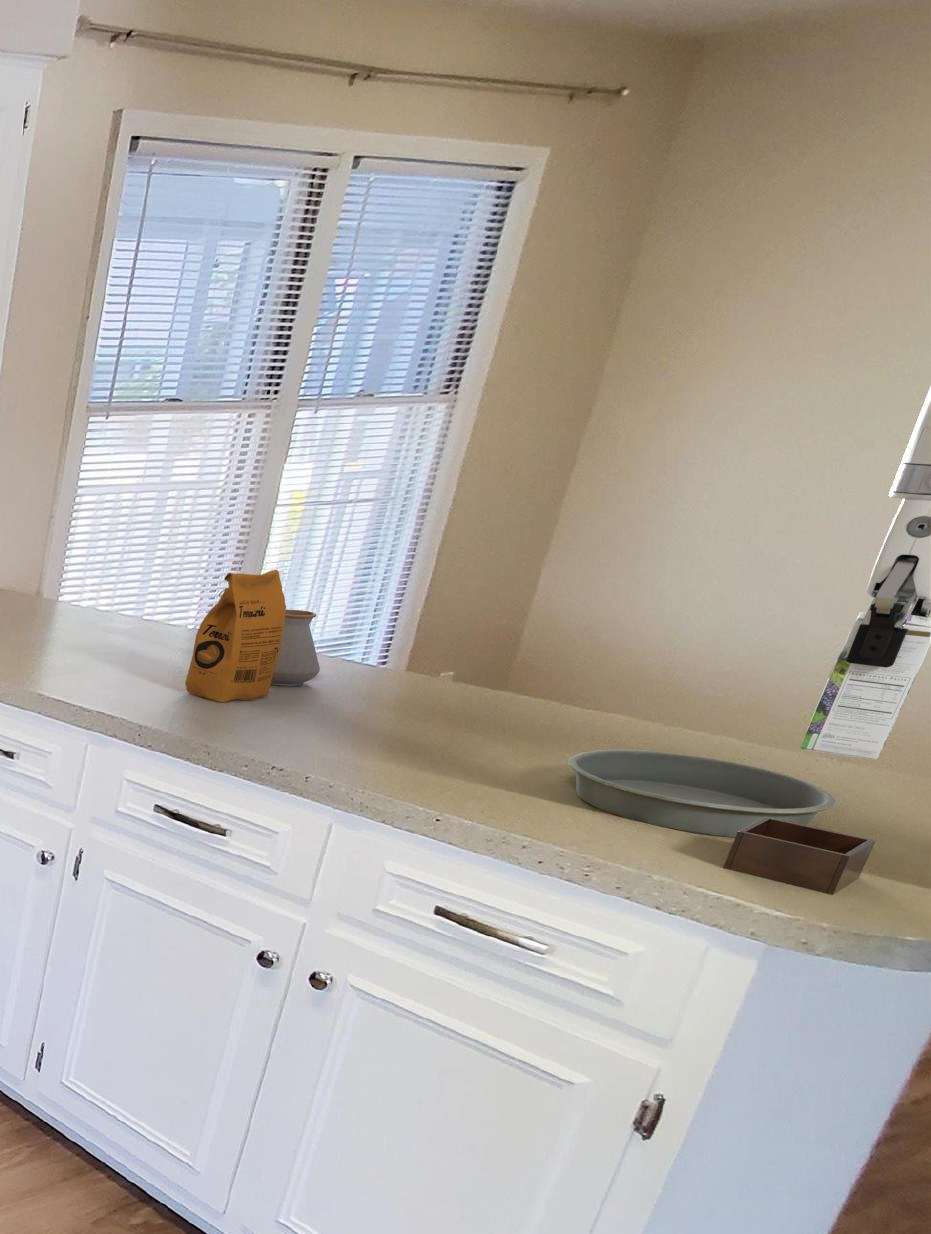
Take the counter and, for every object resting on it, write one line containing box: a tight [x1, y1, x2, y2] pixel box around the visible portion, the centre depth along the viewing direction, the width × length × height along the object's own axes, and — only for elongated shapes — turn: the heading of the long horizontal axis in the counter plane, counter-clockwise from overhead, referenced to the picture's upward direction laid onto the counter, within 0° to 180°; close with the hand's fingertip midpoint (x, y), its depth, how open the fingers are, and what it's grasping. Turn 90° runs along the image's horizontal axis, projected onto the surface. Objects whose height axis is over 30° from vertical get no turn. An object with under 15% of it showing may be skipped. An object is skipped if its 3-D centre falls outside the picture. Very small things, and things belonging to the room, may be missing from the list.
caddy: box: [722, 817, 876, 896], centre depth 130 cm, size 9×9×6 cm
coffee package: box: [184, 569, 287, 703], centre depth 205 cm, size 10×12×22 cm
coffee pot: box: [218, 587, 321, 687], centre depth 219 cm, size 21×12×15 cm, turn 17°
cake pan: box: [567, 749, 836, 838], centre depth 152 cm, size 25×25×4 cm
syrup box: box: [799, 611, 931, 761], centre depth 123 cm, size 6×6×14 cm
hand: (879, 658), depth 122 cm, fingers closed on syrup box, 6 cm apart
